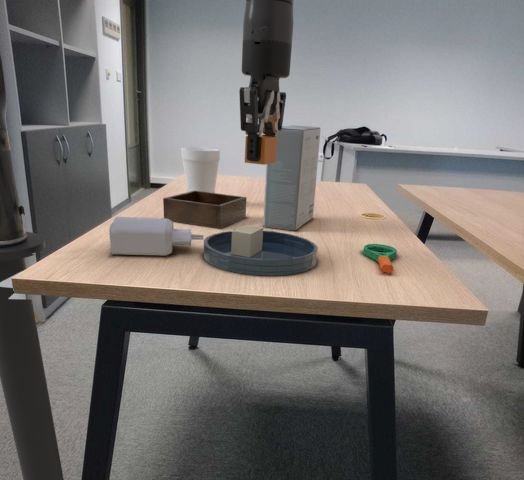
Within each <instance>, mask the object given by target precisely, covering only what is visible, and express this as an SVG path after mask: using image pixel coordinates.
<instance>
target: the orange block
mask: <svg viewBox="0 0 524 480" xmlns="http://www.w3.org/2000/svg"><path fill="white" fill-rule="evenodd" d="M259 137H262V141H261V158H260V161H257V162H255V161H248V160H247V138H248V135H246V136H245V141H244V142H245V143H244V144H245V146H244V163H245V164H255V165H263V166H265V165H266V164H270V163H275V162H276V155H277V141H278V137H271V136H262V135H261V136H259Z"/></svg>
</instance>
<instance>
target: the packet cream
mask: <svg viewBox="0 0 524 480" xmlns="http://www.w3.org/2000/svg"><path fill="white" fill-rule="evenodd" d="M231 231H232V245H231V254H232V255H238V256H244V257H251V256H253V255H255V254H256V253H258V252H260V251H261V250H262V241H263V231H264V226H263V227H262V226H255V225H248V224H243V225H242V226H239V227H237V228H235V229H233V230H231Z"/></svg>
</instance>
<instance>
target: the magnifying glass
mask: <svg viewBox="0 0 524 480" xmlns="http://www.w3.org/2000/svg"><path fill="white" fill-rule="evenodd" d="M362 253H363V255H364V256H366V257H368V258H370V259H372V260H374V261H376V262H378V265H379V267H380V269H381V271H382V272H383V273H392V272H393V270H394V266H393V264H392V262H391V261H392V260H394V259H395V258H397V254H398V249H397V248H396V247H393V246H391V245H387V244H381V243H380V244H379V243H368V244H367V243H366V244H365V245H364V246H363V252H362Z"/></svg>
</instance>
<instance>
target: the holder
mask: <svg viewBox="0 0 524 480" xmlns="http://www.w3.org/2000/svg"><path fill="white" fill-rule="evenodd" d="M247 199H248V198H247V196H240V195H232V194H226V193H225V194H224V193H217V192H215V193H210V192H202V191H190V192H187V191H186V192H183V193H179V194H174V195H171V196H167V197H163V199H162V202H163V203H162V205H163V206H162V207H163V218H165V219H169V220H171V221H172V222H173V223H181V224H186V225H192V226H193V225H194V226H200V227H207V228H213V229H222V228H225V227H227V226H229V225H232V224H234V223H236V222H239V221H241V220H243V219H245V218H246V217H247Z"/></svg>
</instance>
